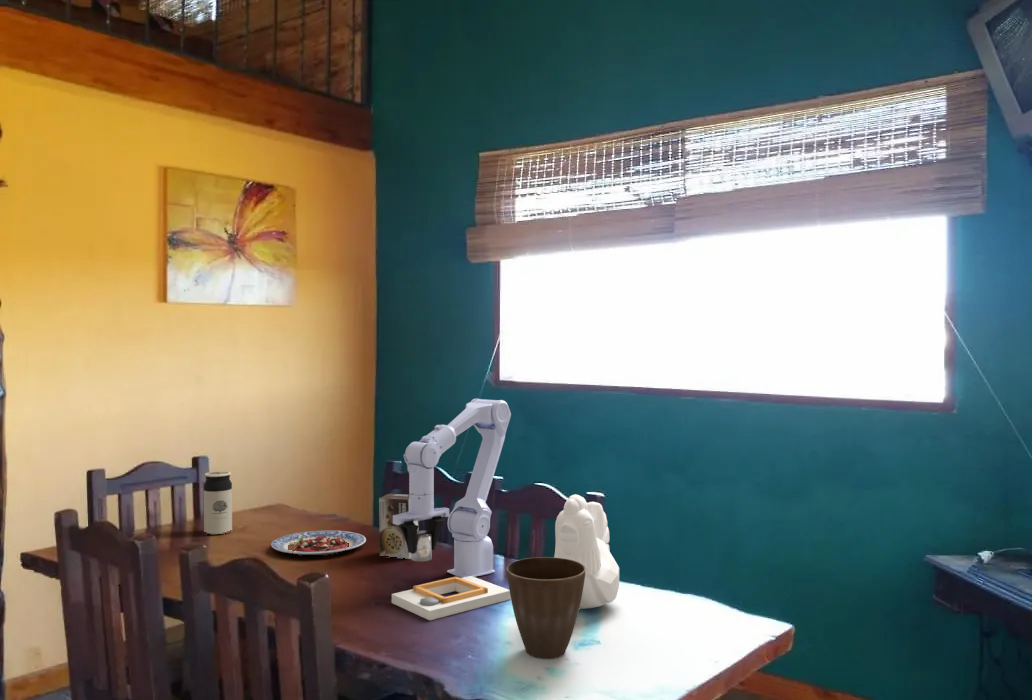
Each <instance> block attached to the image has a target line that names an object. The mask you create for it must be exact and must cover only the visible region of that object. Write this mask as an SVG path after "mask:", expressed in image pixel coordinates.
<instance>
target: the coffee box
mask: <svg viewBox="0 0 1032 700" xmlns="http://www.w3.org/2000/svg"><path fill="white" fill-rule="evenodd" d="M378 505H379V506H378V507H379V508H378V512H379V514H378V516H379V522H378V523H379V557H380V556H389V557H388V558H390V557H397V558H396V559H403V558H405V559H404V560H411V553H409V552H408V548H407V544H406V540H405V538H404V535H403V533H402V531H401V529H400V527H399V525H396V524H393V515H398V514H401V513H405V512H408V511H409V494H404V493H388V494H385V495H383V496H381V497H379V498H378ZM413 523H415V525H417V526H420V525H419V521H414V522H413ZM419 528H420V527H418V530H417V531H420V530H419Z"/></svg>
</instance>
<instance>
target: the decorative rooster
mask: <svg viewBox="0 0 1032 700" xmlns="http://www.w3.org/2000/svg"><path fill="white" fill-rule="evenodd" d="M607 518H608V517H607V514H606V512H605V511H604V508H603V505H602V504H601V503H599V502H596V501H589V502H587V500H586V499H585V498H584V497H583V496H581V495H579V494H576V493H575V494H572V495H570V496H569V497H568V498H567V499H566V501H565V503H564V506H563V510H561V511H560V512H559V514H558V515H557V516H556V520H555V526H554V527H555V528H554V531H555V532H554V533H555V535H554V536H555V551H554V555H553V557H554V558H564V559H569V560H573V561H576V562H579V563H581V564H583V565H584V566H585V568H586V572H585V580H584V587H583V593H582V598H581V603H580V607H579V610H580V609H581V610H582V609H583V610H584V609H593V608H599V607H602V606H604V605H607V604H608V603H612V602H614V601H615V600H616V598H617V595H618V591H619V587H620V567H619V565H618V563H617V561H616V560H615V558H614V556H613V555H612V553H611V552H610V545H609V543H610V529H609V527H608V519H607Z"/></svg>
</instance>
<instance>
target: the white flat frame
mask: <svg viewBox="0 0 1032 700" xmlns="http://www.w3.org/2000/svg"><path fill="white" fill-rule="evenodd" d="M452 592H457V593H456V594H452V595H448V596H444V594H448V593H452ZM509 600H511V596H510V590H509V589H507V588H506V587H502V586H499V585H498V584H497V585H496V584H495V583H494V584H493V583H491V582H489V581H486V580H483V579H481V578H478V577H473V576H468V577H463V578H461V577H458V576H453V577H448V578H444V579H438V580H435V581H431V582H430V581H429V582H426V583H421V584H418V585H413V586H412V589H408V590H402V591H399V592H395V593H391V604H393V605H395V606H398V607H400V608H402V609H404V610H405V611H408V612H410V613H413V614H415V615H417V616H419V617H421V618H422V619H423V618H424V619H426V620H428V621H433V620H437V619H441V618H444V617H445V618H446V617H448V616H451V615H452V616H453V615H456V614H460V613H464V612H469V611H471V610H474V609H475V610H476V609H478V608H479V609H480V608H482V607H487V606H490V605H494V604H497V603H501V602H505V601H509Z"/></svg>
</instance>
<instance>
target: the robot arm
mask: <svg viewBox="0 0 1032 700" xmlns="http://www.w3.org/2000/svg"><path fill="white" fill-rule="evenodd" d="M511 417H512V413H511V409H510V407H509V405H508V402H506V401H505V400H504V399H499V400H497V399H482V398H473V399H471V401H470V402H467V403H466V404H465V409H463V410H462V411H461V412H460V413H459V414H458V415H457V416H456V417H454V419H452V420H451V421H450V422H449V423H447V424H436V425H435V426H434V429H433V430H432V431H430V432H429V433H428V434H427V435H424V436H422V437H421V439H420V440H419V441H412V442H410V444H409V445H408V446H407V447H406V449H405V452H404V454H403V459H404V462H405V463H406V466H407V472H408V474H409V475H408V476H409V479H408V481H409V483H408V485H409V487H408V489H409V490H408V491H409V493H408V495H409V511H408V512H405V513H401V514H398V515H393V524H396V525H399V527H400V529H401V531H402V533H403V535H404V538H405V540H406V544H407V548H408V552H409V553H412V554H415V552H416V536H417V530H418V527H419V526H420V525H419V526H417V525H415V523H413V522H414V521H418V522H420V521H424V522H425V528H426V531H430V532H432V551H434V550H435V549H436V545H437V542H438V538H439V535H440V533H441V530H442V529H443V526H444V525H445V519H444V518H443V517H445V518H447V528H448V529H447V530H448V531H449V532H450V533H451V537H452V538H454V539H453V540H454V541H453V547H454V549H453V550H454V551H453V552H454V555H453V558H454V560H453V561H454V563H453V564H454V566H453V568H452V569H448V570H447V571H446V572H447V573H449V574H451V575H453V576H455V577H459V578H463V577H468V576H473V577H475V578H478V577H481V576H485V575H490V574H494V573H495V572H496V570H495V569H494V545H493V542H492V539H491V538H490V537H489V536H488V534H489V532H490V529H491V517H492V516H491V515H492V513H493V512H492V510H491V508H490V507H489V506H488V504H487V503H486V502H487V500H488V495H489V493H490V492H489V491H490V489H491V486H492V482H493V479H494V475H495V472H496V469H497V466H498V463H499V460H500V456H501V452H502V449H503V446H504V442H505V440H506V439H505V438H506V433H507V429H508V426H509V424H510V420H511ZM472 426H474V428H475V430H476V431H477V433H479V434H480V435H481V437H482V440H481V443H480V447H479V449H478V453H477V456H476V459H475V463H474V465H473V470H472V471H471V476H470V479H469V482H468V486H467V488H466V493H465V495H464V497H462V498H461V499H459V500H458V501H456V502H455V504H454V506H453V508H452V511H451V512H450V508H448V507H435V501H434V498H435V497H434V496H435V494H434V493H435V492H434V491H435V489H434V488H435V486H434V485H435V484H434V482H435V481H434V480H435V479H434V477H435V476H434V475H435V469H434V468H435V467H436V466H437V464H439V460H440V457H441V456H442V454H444V453H445V452H446V451H447V450H449V449H450V448H451V447H452V446H453V445H455V443H456V441H457V437H458V436H459V435H460V434H462V433H463V432H465V431H467V430H468V429H469V428H470V427H472ZM419 528H420V527H419Z"/></svg>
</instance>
